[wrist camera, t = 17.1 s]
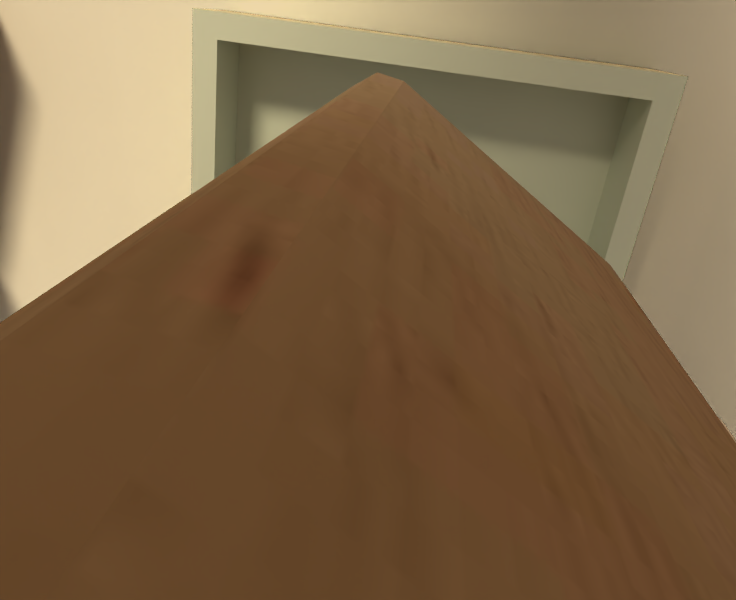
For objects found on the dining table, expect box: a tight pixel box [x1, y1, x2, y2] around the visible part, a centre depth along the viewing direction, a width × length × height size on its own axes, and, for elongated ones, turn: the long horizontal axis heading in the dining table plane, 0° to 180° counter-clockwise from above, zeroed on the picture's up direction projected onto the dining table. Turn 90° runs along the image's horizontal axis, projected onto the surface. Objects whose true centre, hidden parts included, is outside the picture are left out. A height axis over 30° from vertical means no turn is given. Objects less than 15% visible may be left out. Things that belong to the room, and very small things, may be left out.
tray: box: [191, 8, 688, 282], centre depth 23 cm, size 15×15×3 cm
